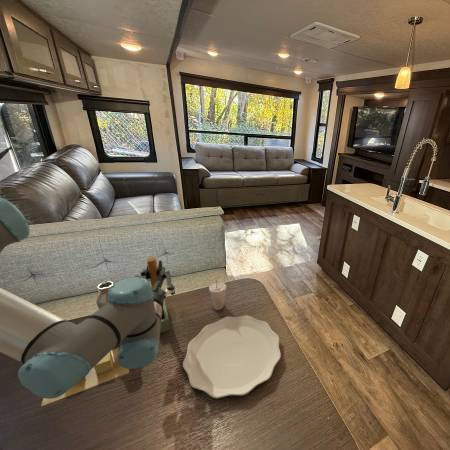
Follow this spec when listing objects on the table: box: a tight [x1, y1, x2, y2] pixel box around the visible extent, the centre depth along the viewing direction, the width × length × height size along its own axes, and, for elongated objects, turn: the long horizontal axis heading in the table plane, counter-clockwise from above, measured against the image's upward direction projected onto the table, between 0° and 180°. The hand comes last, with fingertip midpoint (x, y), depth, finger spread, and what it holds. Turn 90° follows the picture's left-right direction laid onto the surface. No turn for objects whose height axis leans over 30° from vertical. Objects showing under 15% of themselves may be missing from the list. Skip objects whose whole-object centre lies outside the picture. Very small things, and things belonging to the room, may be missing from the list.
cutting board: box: [40, 346, 130, 408], centre depth 69 cm, size 11×18×2 cm, turn 123°
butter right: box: [94, 351, 113, 374], centre depth 70 cm, size 4×4×4 cm
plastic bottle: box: [95, 281, 114, 310], centre depth 79 cm, size 6×7×20 cm
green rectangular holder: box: [160, 298, 171, 334], centre depth 88 cm, size 12×4×6 cm, turn 33°
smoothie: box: [208, 277, 227, 311], centre depth 96 cm, size 6×6×14 cm
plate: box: [182, 315, 282, 399], centre depth 79 cm, size 29×29×2 cm
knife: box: [146, 256, 158, 287], centre depth 82 cm, size 8×3×17 cm, turn 33°
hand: (155, 264), depth 85 cm, fingers closed on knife, 3 cm apart
